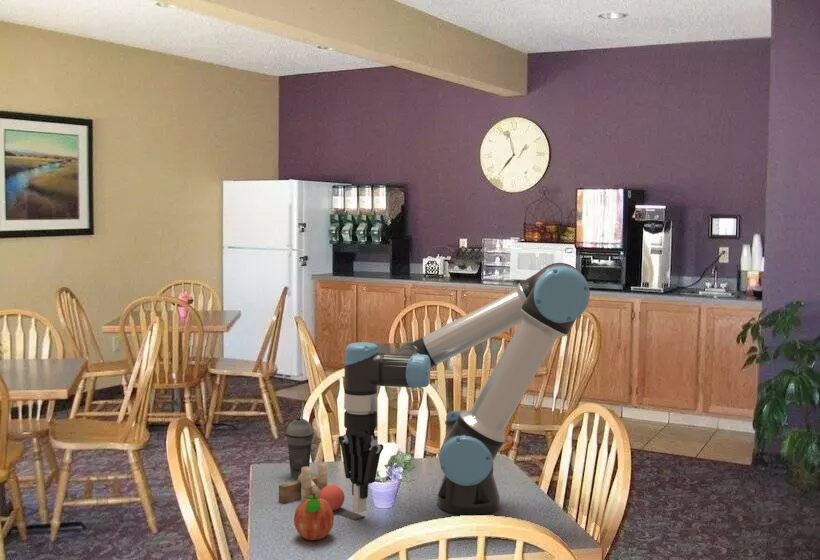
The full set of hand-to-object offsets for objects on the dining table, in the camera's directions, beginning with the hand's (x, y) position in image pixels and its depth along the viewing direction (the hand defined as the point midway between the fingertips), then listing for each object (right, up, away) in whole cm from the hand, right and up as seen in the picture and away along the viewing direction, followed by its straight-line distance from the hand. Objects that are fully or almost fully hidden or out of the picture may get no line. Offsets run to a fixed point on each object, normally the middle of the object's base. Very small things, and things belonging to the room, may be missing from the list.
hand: (359, 510), depth 208 cm
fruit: (-9, -3, -12) cm, 15 cm away
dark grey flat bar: (-4, -2, +4) cm, 5 cm away
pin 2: (-10, -1, +13) cm, 16 cm away
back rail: (-16, 0, +15) cm, 21 cm away
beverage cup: (-18, +1, +31) cm, 36 cm away
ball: (-7, +2, +6) cm, 9 cm away
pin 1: (-13, -1, +9) cm, 17 cm away
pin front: (-9, 0, +9) cm, 13 cm away
